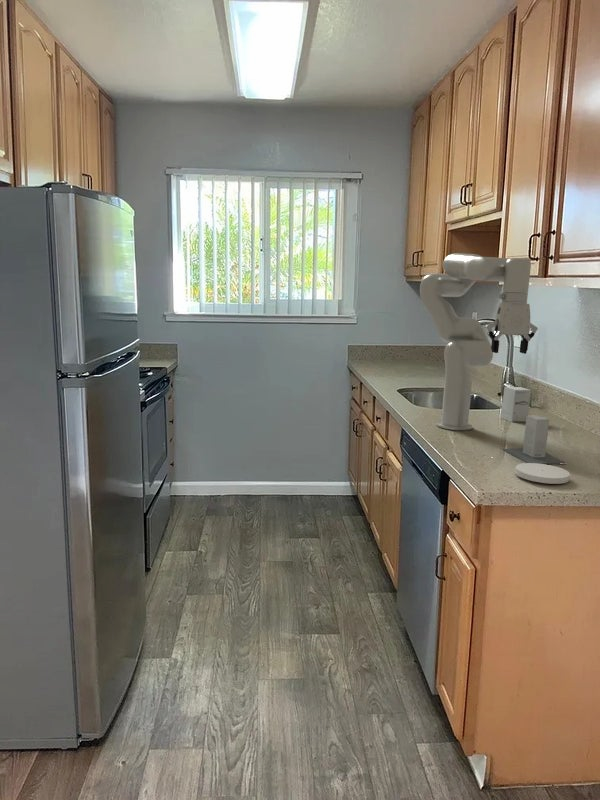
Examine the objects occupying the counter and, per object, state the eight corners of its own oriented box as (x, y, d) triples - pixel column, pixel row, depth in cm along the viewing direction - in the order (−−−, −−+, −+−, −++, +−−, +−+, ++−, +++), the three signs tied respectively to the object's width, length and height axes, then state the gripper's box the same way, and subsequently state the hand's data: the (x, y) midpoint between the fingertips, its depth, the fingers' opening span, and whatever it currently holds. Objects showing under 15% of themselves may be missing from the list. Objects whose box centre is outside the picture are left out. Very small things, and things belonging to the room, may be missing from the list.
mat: (503, 450, 203) (503, 448, 203) (537, 449, 205) (538, 448, 205) (529, 464, 188) (529, 463, 187) (566, 464, 190) (566, 462, 190)
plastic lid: (503, 474, 178) (504, 466, 177) (537, 469, 184) (538, 460, 184) (545, 490, 166) (546, 480, 165) (580, 483, 173) (581, 474, 172)
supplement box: (511, 422, 245) (515, 389, 243) (500, 418, 252) (503, 386, 250) (528, 421, 247) (531, 389, 245) (516, 417, 254) (520, 386, 252)
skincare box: (545, 457, 194) (550, 419, 192) (532, 458, 193) (537, 419, 191) (534, 452, 200) (538, 415, 198) (521, 452, 199) (526, 415, 197)
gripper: (494, 298, 196) (489, 353, 199) (546, 300, 199) (540, 354, 202) (483, 297, 203) (478, 350, 206) (533, 299, 206) (527, 352, 209)
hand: (508, 352), depth 204 cm, fingers open, 9 cm apart
